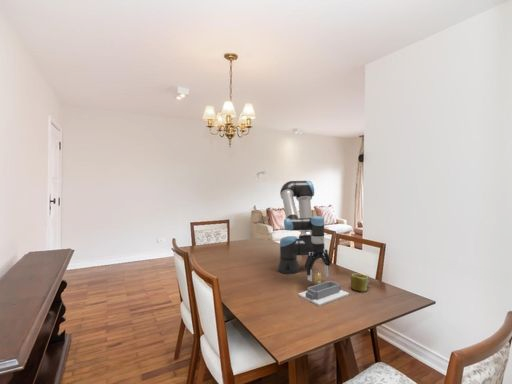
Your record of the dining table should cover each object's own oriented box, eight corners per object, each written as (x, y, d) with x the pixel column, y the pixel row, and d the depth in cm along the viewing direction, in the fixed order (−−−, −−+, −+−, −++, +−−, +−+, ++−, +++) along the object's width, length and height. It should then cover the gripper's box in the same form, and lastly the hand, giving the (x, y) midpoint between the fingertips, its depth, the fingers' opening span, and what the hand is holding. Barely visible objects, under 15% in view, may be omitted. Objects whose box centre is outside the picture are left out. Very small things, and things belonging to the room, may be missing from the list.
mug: (357, 291, 153) (357, 272, 156) (346, 290, 162) (346, 272, 165) (376, 293, 155) (376, 274, 158) (365, 292, 165) (365, 274, 168)
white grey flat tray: (298, 295, 153) (298, 286, 153) (327, 285, 166) (327, 277, 166) (319, 306, 140) (319, 296, 140) (349, 295, 153) (349, 286, 152)
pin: (313, 285, 167) (313, 272, 166) (317, 284, 169) (317, 271, 168) (318, 287, 163) (318, 274, 163) (322, 286, 165) (322, 273, 165)
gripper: (306, 246, 155) (307, 284, 155) (337, 241, 168) (337, 275, 169) (297, 244, 161) (298, 280, 162) (327, 239, 175) (327, 272, 175)
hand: (318, 278), depth 165 cm, fingers open, 13 cm apart
